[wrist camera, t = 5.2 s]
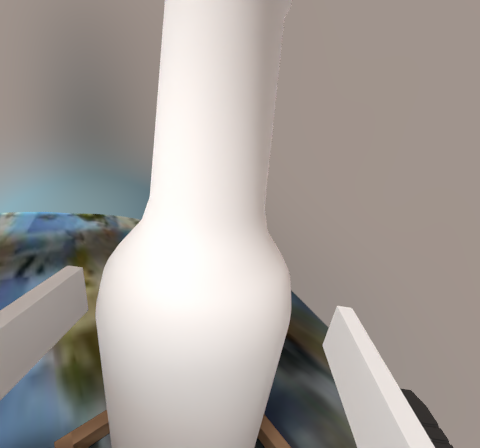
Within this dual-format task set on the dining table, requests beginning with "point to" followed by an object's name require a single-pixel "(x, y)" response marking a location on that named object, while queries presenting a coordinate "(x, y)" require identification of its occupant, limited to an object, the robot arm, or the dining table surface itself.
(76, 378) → the dining table surface
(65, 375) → the dining table surface
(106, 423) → the square wooden frame
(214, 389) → the alcohol
